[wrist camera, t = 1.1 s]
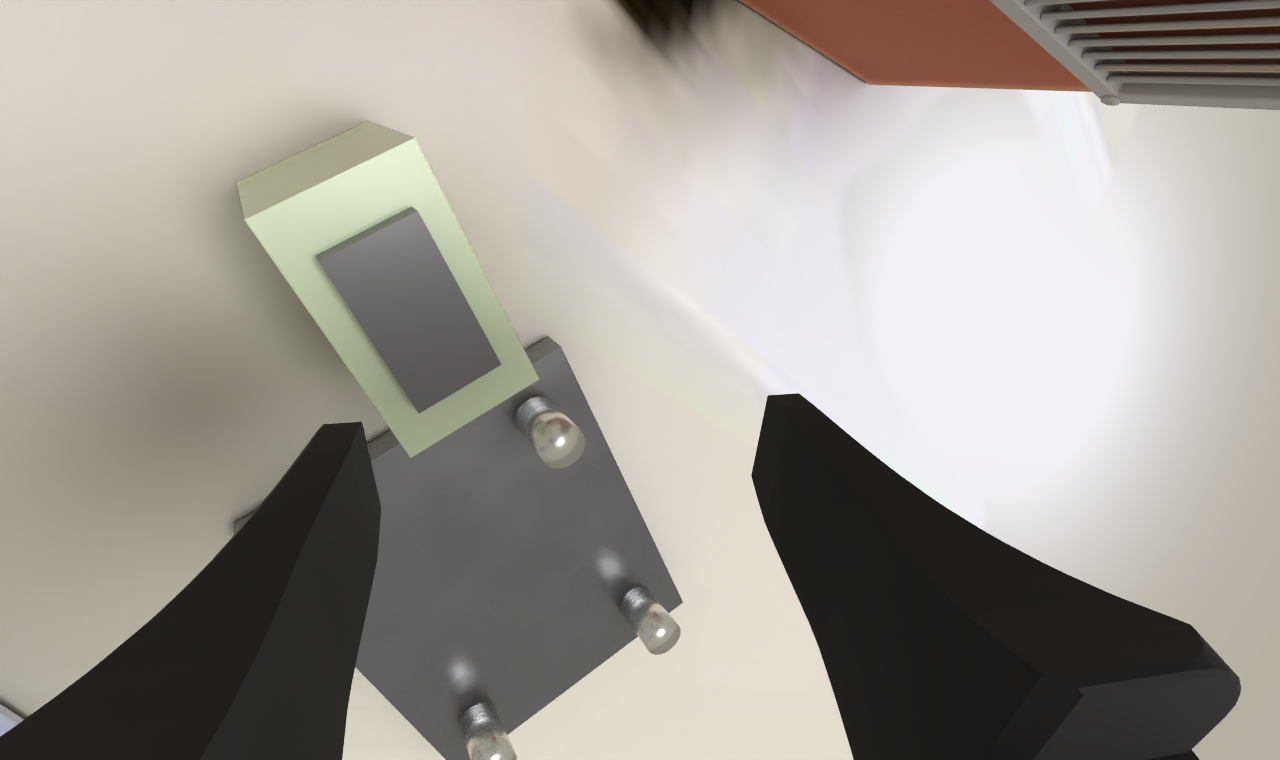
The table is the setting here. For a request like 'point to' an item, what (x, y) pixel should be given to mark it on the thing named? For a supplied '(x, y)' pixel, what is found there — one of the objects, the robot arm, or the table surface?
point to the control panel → (1053, 46)
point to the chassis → (506, 567)
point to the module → (389, 280)
